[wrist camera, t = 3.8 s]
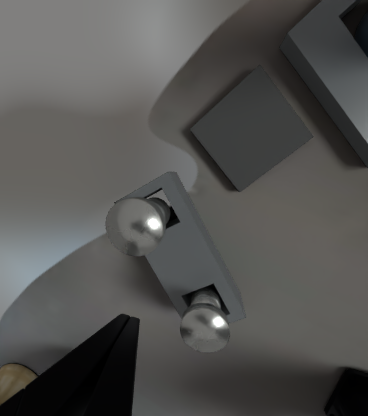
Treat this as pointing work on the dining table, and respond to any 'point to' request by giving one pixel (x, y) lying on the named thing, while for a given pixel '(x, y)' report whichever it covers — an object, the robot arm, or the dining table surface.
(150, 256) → the bar
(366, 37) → the cartridge
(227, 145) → the mat
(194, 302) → the plunger
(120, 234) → the plunger
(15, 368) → the hand bell
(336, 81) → the socket plate
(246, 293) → the dining table surface
